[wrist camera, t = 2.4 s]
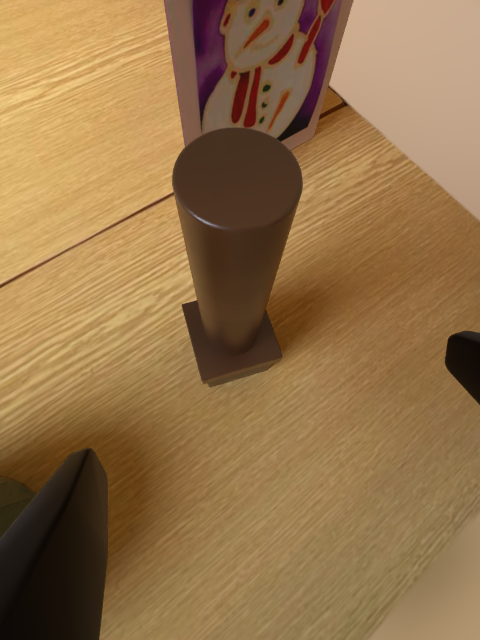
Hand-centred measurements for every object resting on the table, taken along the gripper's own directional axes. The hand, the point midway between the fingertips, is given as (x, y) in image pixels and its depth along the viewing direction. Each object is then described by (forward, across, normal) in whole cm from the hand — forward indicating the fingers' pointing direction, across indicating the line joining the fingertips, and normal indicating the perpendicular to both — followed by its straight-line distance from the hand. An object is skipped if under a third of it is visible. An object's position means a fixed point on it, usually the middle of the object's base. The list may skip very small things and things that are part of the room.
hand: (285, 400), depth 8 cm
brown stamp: (+11, 0, +5) cm, 12 cm away
